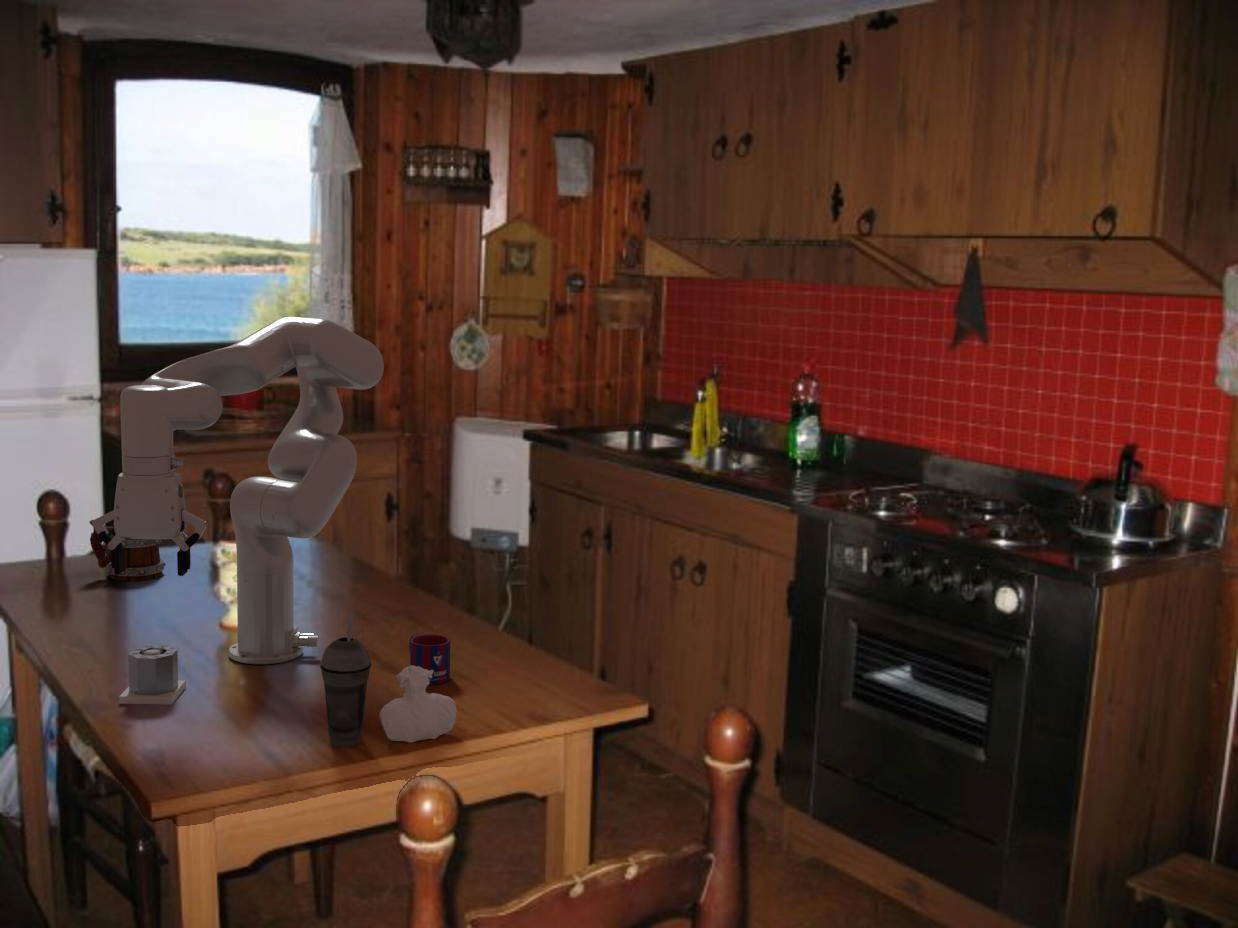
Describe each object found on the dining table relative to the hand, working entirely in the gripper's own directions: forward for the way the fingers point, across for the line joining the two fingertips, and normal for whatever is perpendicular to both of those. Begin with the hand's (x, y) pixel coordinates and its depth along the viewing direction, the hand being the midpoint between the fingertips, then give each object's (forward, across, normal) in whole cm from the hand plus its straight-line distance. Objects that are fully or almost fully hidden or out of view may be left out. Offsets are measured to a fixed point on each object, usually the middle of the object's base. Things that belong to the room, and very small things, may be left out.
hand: (151, 573), depth 202 cm
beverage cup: (+20, -33, +18) cm, 43 cm away
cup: (+20, -42, -12) cm, 48 cm away
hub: (+19, 0, 0) cm, 19 cm away
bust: (+20, -43, +15) cm, 50 cm away
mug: (+21, +27, -74) cm, 81 cm away
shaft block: (+20, 0, 0) cm, 20 cm away
